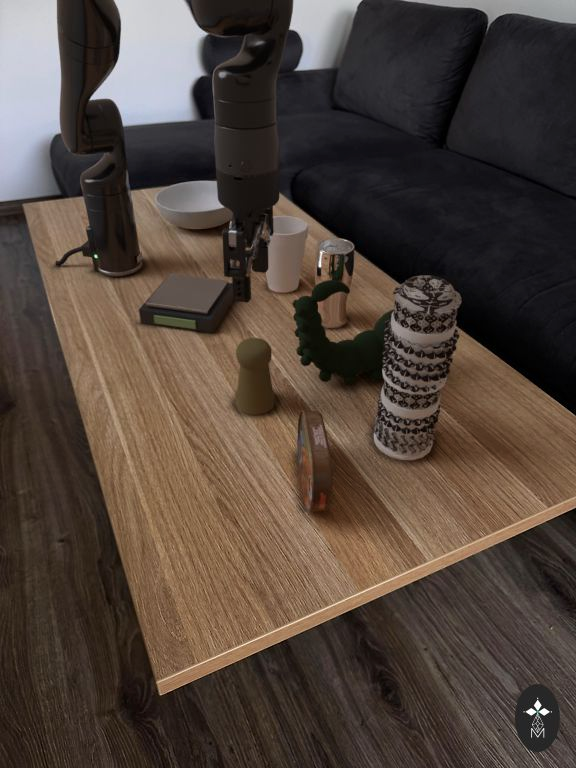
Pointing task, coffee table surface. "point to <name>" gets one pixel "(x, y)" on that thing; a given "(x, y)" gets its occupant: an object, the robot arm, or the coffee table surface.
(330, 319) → the shiny silver cylinder
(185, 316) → the scale
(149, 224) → the coffee table surface
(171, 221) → the serving bowl
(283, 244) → the foam cup
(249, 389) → the olive game pawn
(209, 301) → the scale platform
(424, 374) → the white patterned cylinder
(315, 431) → the tin
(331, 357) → the toy figurine
